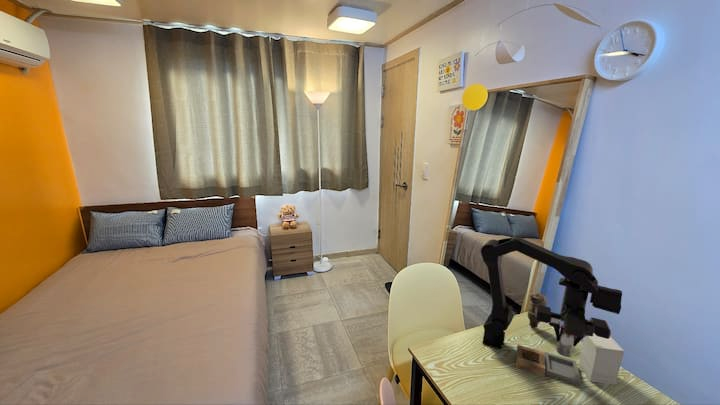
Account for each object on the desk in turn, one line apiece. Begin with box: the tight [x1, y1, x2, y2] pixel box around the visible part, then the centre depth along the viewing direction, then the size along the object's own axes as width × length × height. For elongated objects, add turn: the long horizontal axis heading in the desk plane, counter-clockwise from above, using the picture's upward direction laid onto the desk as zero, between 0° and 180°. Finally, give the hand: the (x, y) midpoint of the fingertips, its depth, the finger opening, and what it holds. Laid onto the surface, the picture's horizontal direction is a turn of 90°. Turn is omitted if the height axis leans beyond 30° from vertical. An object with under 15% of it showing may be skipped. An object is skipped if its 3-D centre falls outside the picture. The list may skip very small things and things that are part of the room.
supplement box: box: [578, 333, 625, 385], centre depth 93 cm, size 7×7×13 cm
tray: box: [543, 351, 581, 387], centre depth 96 cm, size 9×9×2 cm
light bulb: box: [527, 292, 548, 329], centre depth 114 cm, size 6×6×15 cm
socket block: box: [515, 344, 546, 377], centre depth 98 cm, size 8×8×3 cm
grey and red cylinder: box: [556, 324, 575, 358], centre depth 93 cm, size 4×4×9 cm
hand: (565, 343), depth 93 cm, fingers closed on grey and red cylinder, 4 cm apart
